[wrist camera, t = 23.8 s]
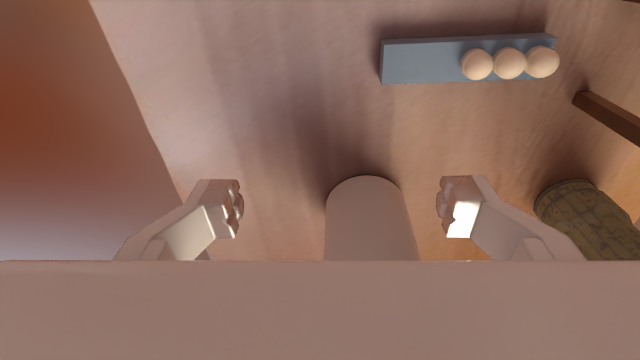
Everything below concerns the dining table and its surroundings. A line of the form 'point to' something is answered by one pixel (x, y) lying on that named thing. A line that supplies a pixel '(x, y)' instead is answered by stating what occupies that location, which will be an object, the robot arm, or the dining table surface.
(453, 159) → the dining table surface
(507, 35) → the egg holder
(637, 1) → the crate stand
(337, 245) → the cylinder vase
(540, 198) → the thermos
